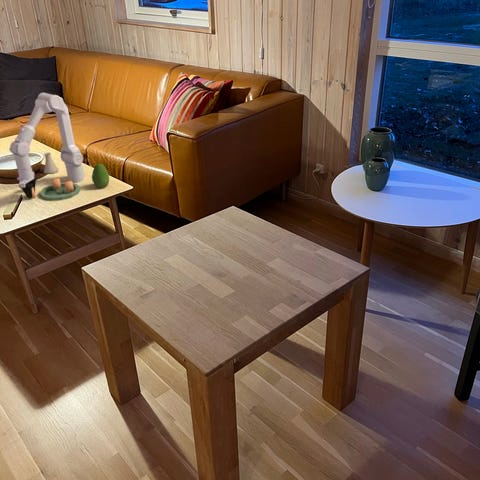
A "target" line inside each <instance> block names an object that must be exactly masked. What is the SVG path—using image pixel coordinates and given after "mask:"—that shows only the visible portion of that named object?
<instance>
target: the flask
mask: <svg viewBox="0 0 480 480" xmlns="http://www.w3.org/2000/svg"><path fill="white" fill-rule="evenodd" d="M51 153H52V152H44V154H43V155H44V157H45V164H44V170H43V173H44V174H47V175H52V174H53V175H54V174H55V173H58V172H59V168H58V167H57V165H56V164H55V161H54V160H53V159H52V156H51V155H52V154H51Z"/></svg>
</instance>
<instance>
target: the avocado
mask: <svg viewBox="0 0 480 480" xmlns="http://www.w3.org/2000/svg"><path fill="white" fill-rule="evenodd" d="M109 174H110V173H109V172H108V171H107V168H106V167H105V165H104V164H103V163H97V164H96V165H94V168H93V171H92V174H91V180H92V182H93V184H94V186H95V187H97V188H99V189H103V188H106V187H107V186H109V183H110V175H109Z"/></svg>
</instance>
